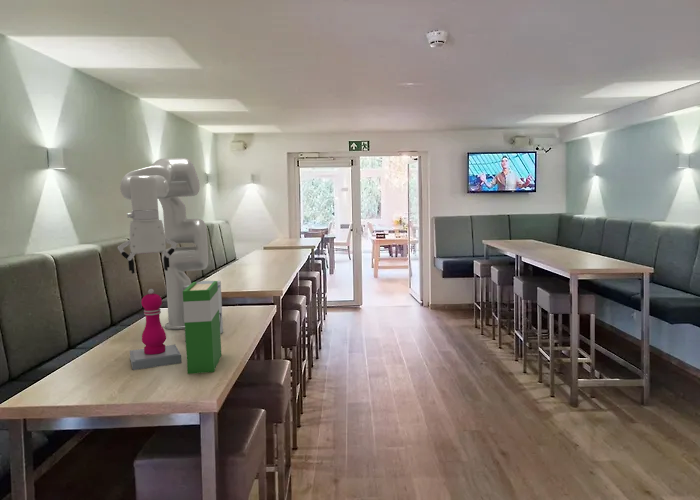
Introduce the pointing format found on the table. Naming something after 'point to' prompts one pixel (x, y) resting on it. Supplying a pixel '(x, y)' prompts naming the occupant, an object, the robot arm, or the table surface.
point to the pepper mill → (153, 324)
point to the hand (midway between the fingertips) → (149, 271)
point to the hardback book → (202, 327)
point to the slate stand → (155, 358)
